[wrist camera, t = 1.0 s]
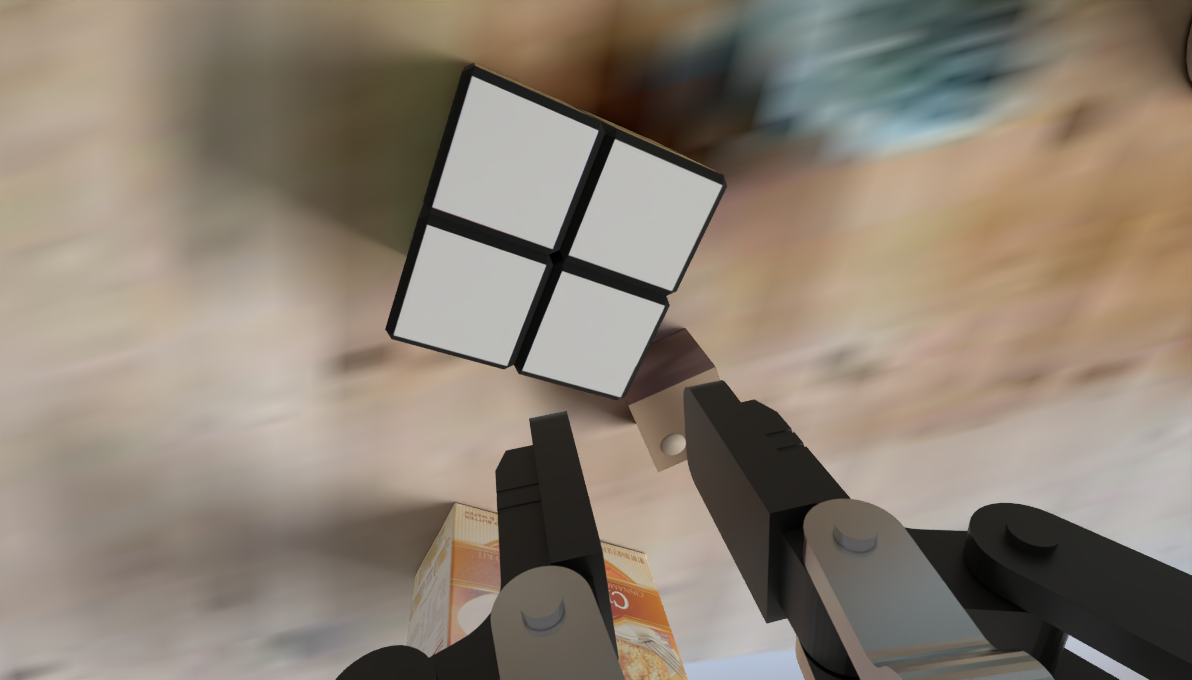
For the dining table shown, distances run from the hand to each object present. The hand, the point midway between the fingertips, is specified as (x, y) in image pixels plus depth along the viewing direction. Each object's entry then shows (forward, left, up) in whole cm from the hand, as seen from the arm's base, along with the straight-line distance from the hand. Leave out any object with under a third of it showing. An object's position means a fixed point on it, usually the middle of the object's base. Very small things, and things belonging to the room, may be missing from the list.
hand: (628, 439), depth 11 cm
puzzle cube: (0, 0, -21) cm, 21 cm away
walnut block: (-6, +12, -21) cm, 25 cm away
